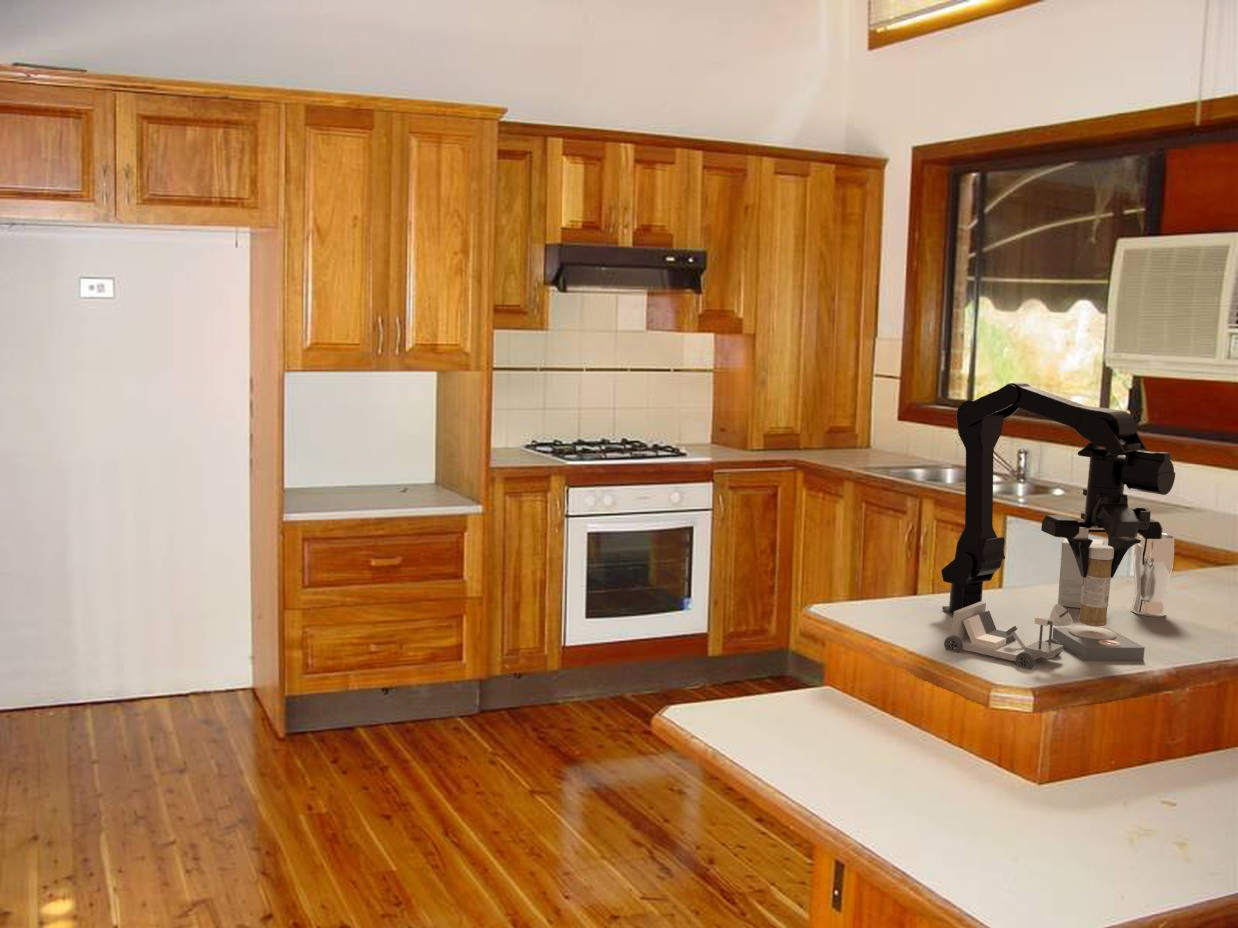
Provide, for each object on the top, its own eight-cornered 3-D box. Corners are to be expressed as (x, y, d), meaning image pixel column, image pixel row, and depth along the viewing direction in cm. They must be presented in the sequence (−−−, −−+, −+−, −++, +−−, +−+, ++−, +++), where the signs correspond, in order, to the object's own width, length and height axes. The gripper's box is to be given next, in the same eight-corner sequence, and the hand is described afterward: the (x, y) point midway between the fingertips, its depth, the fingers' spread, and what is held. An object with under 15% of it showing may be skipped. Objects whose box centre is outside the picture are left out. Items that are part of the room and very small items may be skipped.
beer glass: (1128, 614, 236) (1135, 536, 234) (1128, 606, 242) (1135, 530, 240) (1168, 619, 233) (1176, 540, 231) (1167, 610, 240) (1175, 534, 238)
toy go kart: (1082, 603, 203) (1054, 615, 195) (1077, 661, 205) (1048, 676, 196) (978, 583, 215) (947, 594, 206) (974, 639, 216) (943, 652, 208)
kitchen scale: (1052, 639, 216) (1053, 625, 216) (1107, 640, 217) (1108, 625, 217) (1085, 660, 204) (1086, 644, 204) (1143, 660, 205) (1144, 645, 205)
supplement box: (1100, 603, 244) (1105, 539, 243) (1097, 611, 238) (1103, 545, 236) (1060, 597, 247) (1065, 535, 246) (1056, 605, 241) (1061, 541, 239)
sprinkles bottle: (1087, 618, 215) (1094, 542, 213) (1111, 624, 212) (1119, 547, 210) (1072, 622, 212) (1079, 544, 211) (1097, 628, 209) (1105, 549, 207)
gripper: (1074, 492, 200) (1065, 588, 202) (1185, 495, 202) (1175, 589, 204) (1044, 481, 211) (1035, 572, 213) (1148, 484, 213) (1139, 573, 215)
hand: (1096, 577), depth 211 cm, fingers closed on sprinkles bottle, 4 cm apart
